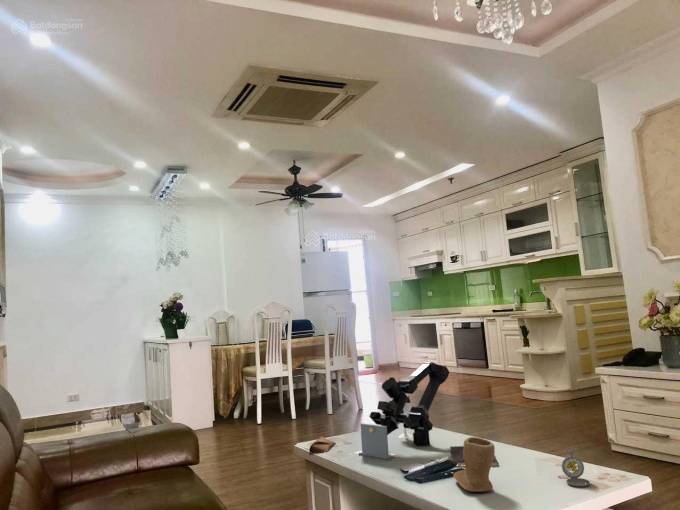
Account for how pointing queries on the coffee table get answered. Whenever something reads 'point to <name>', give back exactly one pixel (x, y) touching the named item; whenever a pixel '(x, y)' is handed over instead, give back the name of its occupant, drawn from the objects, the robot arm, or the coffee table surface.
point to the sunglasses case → (321, 445)
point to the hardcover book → (458, 457)
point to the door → (374, 440)
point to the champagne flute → (404, 435)
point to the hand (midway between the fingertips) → (381, 437)
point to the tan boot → (476, 465)
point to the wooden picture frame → (391, 456)
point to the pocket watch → (570, 464)
